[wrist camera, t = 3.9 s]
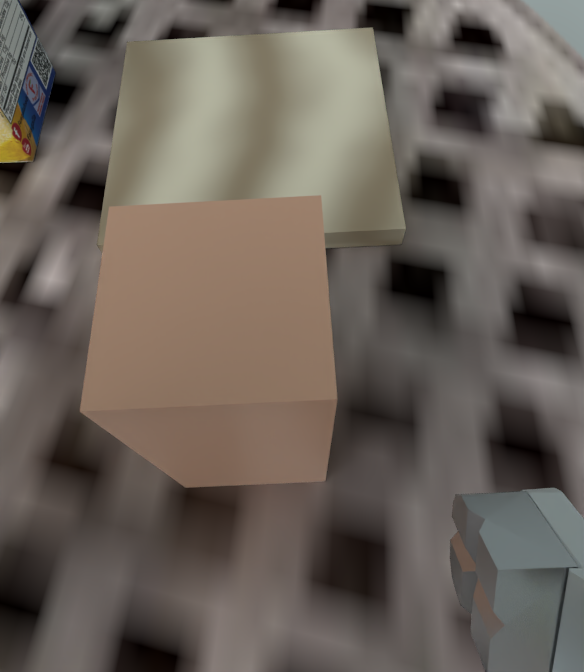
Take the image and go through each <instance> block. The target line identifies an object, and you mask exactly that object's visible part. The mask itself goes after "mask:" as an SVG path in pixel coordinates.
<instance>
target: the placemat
mask: <svg viewBox="0 0 584 672" xmlns="http://www.w3.org/2000/svg"><path fill="white" fill-rule="evenodd" d="M317 195H321V200H322V212H323V225H324V237H325V248H341V247H360V246H380V245H399V244H402V241H403V237H404V234H405V230H406V227H405V221H404V215H403V208H402V202H401V196H400V190H399V184H398V178H397V172H396V166H395V160H394V154H393V148H392V141H391V135H390V129H389V123H388V117H387V111H386V105H385V99H384V93H383V87H382V81H381V74H380V68H379V62H378V56H377V50H376V44H375V38H374V32H373V28H358V29H341V30H324V31H306V32H289V33H272V34H255V35H237V36H220V37H203V38H186V39H169V40H151V41H134V42H127V47H126V53H125V60H124V67H123V73H122V80H121V87H120V93H119V100H118V107H117V113H116V120H115V127H114V133H113V140H112V147H111V153H110V160H109V167H108V173H107V180H106V187H105V193H104V200H103V207H102V213H101V220H100V227H99V234H98V240H97V246H98V248H99V249H100V251H101V252H103V245H104V238H105V231H106V224H107V217H108V210H109V207H111V206H129V205H148V204H167V203H186V202H204V201H223V200H242V199H261V198H279V197H298V196H317Z"/></svg>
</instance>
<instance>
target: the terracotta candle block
mask: <svg viewBox="0 0 584 672" xmlns="http://www.w3.org/2000/svg"><path fill="white" fill-rule="evenodd" d="M336 406H337V387H336V374H335V362H334V350H333V337H332V325H331V312H330V300H329V287H328V275H327V262H326V250H325V237H324V225H323V212H322V200H321V195H317V196H298V197H279V198H261V199H242V200H223V201H204V202H186V203H167V204H148V205H129V206H111V207H109V210H108V217H107V224H106V231H105V238H104V245H103V252H102V259H101V266H100V273H99V280H98V287H97V294H96V301H95V308H94V315H93V322H92V329H91V336H90V343H89V350H88V357H87V364H86V372H85V379H84V386H83V393H82V400H81V407H80V412H81V413H82V414H84V415H85V416H87V417H88V418H89V419H91V420H92V421H94V422H95V423H96V424H98V425H99V426H100V427H102V428H103V429H105V430H106V431H107V432H109V433H110V434H112V435H113V436H114V437H116V438H117V439H119V440H120V441H121V442H123V443H124V444H125V445H127V446H128V447H130V448H131V449H132V450H134V451H135V452H137V453H138V454H139V455H141V456H142V457H144V458H145V459H146V460H148V461H149V462H150V463H152V464H153V465H155V466H156V467H157V468H159V469H160V470H162V471H163V472H164V473H166V474H167V475H169V476H170V477H171V478H173V479H174V480H175V481H177V482H178V483H180V484H181V485H182V486H184V487H185V488H189V487H211V486H233V485H255V484H277V483H299V482H321V481H326V474H327V467H328V461H329V454H330V447H331V440H332V433H333V426H334V420H335V413H336Z"/></svg>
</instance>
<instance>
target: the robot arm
mask: <svg viewBox="0 0 584 672" xmlns="http://www.w3.org/2000/svg"><path fill="white" fill-rule="evenodd" d="M452 518H453V520H454V523H455V525H456V527H457V530H458V532H457V533H456V534H455V535H454V537H453V538H452V539H451V540H450V563H451V572H452V579H453V583H454V587H455V591H456V594H457V596H458V599H459V602H460V605H461V606H462V607H463V608H464V609H466V610H467V611H468V612H469V613H470V614H472V618H471V635H472V638H473V640H474V643H475V646H476V648H477V651H478V654H479V656H480V659H481V661H482V664H483V667H484V669H485V672H584V519H583V517H582V516H581V515H580V514H579V512H578V511H577V510H576V509H575V507H574V506H573V505H572V504H571V502H570V501H569V500H568V499H567V497H566V496H565V495H564V494H563V492H562V491H560V490H558V489H556V488H544V489H529V490H521V491H516V492H494V493H473V494H455V498H454V501H453V508H452Z"/></svg>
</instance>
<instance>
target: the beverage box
mask: <svg viewBox="0 0 584 672" xmlns="http://www.w3.org/2000/svg"><path fill="white" fill-rule="evenodd" d="M54 77H55V71H54V69H53V67H52V65H51V63H50V61H49V59H48V57H47V55H46V53H45V51H44V49H43V47H42V45H41V43H40V41H39V39H38V37H37V35H36V33H35V31H34V29H33V27H32V25H31V23H30V21H29V19H28V17H27V15H26V13H25V11H24V10H23V8H22V6H21V4H20V2H19V0H0V163H11V162H33V161H34V157H35V153H36V149H37V145H38V141H39V137H40V133H41V129H42V125H43V121H44V117H45V113H46V109H47V105H48V101H49V97H50V93H51V89H52V85H53V81H54Z"/></svg>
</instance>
